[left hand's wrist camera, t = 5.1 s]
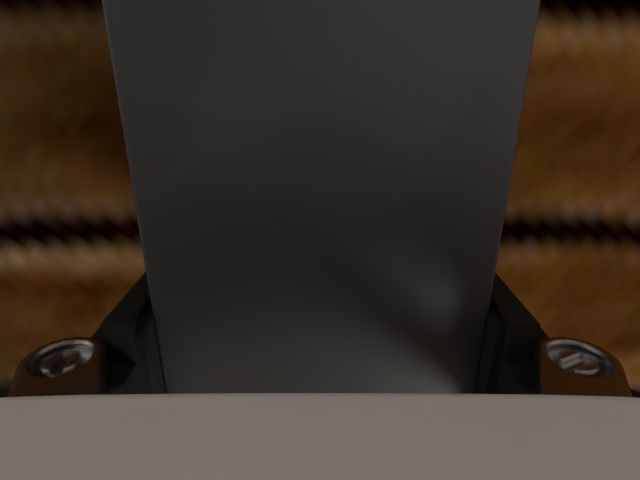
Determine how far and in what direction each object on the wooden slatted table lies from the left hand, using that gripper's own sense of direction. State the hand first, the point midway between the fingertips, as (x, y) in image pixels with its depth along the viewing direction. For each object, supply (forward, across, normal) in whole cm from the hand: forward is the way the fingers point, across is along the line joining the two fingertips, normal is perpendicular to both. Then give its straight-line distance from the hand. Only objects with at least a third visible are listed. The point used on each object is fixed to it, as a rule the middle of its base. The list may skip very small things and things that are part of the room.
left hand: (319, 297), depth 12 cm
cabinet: (+7, 0, -7) cm, 10 cm away
